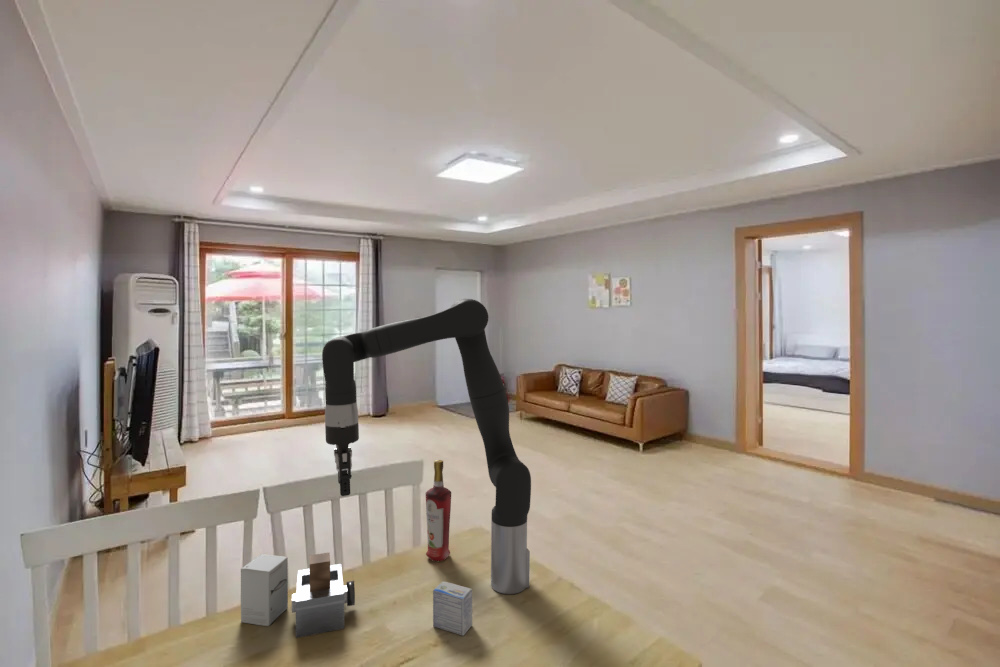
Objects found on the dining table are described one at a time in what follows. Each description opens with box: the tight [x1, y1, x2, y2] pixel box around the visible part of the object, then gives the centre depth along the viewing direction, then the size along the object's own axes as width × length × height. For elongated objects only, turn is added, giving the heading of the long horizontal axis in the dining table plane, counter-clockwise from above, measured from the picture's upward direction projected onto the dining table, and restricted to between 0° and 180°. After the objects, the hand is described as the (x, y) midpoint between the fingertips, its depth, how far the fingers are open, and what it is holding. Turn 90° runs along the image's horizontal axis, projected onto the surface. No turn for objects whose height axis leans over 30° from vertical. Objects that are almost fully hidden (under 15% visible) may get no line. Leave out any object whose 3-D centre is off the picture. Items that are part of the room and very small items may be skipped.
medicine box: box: [432, 580, 473, 636], centre depth 114 cm, size 8×4×9 cm, turn 65°
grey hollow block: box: [295, 563, 345, 639], centre depth 118 cm, size 10×14×8 cm
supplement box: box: [240, 553, 289, 627], centre depth 117 cm, size 7×7×13 cm
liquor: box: [425, 459, 452, 562], centre depth 145 cm, size 7×7×28 cm
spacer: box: [309, 552, 331, 592], centre depth 118 cm, size 4×4×7 cm
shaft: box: [291, 580, 356, 613], centre depth 118 cm, size 14×5×5 cm, turn 110°
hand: (344, 488), depth 121 cm, fingers open, 8 cm apart
